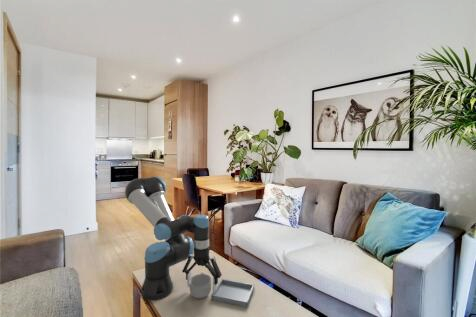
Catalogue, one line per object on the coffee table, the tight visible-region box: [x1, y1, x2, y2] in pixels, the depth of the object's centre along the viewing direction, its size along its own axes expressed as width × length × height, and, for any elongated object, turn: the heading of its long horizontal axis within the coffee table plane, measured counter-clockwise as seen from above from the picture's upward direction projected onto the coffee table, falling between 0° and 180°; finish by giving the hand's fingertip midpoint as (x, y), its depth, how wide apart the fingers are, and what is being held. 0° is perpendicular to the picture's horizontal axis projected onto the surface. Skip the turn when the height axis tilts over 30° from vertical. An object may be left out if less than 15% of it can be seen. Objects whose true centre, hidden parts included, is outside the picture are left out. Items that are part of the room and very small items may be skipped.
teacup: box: [189, 271, 212, 300], centre depth 121 cm, size 14×11×8 cm
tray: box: [210, 278, 255, 308], centre depth 120 cm, size 18×15×2 cm
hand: (201, 288), depth 121 cm, fingers open, 13 cm apart
